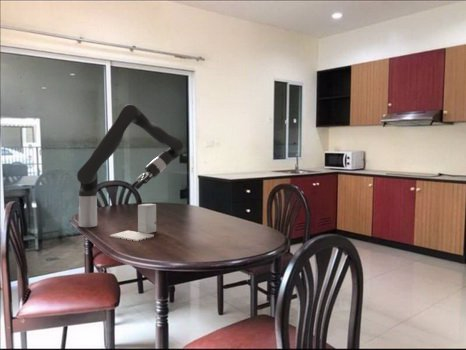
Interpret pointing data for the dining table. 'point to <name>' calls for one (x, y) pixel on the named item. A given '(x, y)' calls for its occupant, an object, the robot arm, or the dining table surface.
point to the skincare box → (147, 218)
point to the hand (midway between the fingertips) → (133, 188)
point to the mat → (132, 235)
